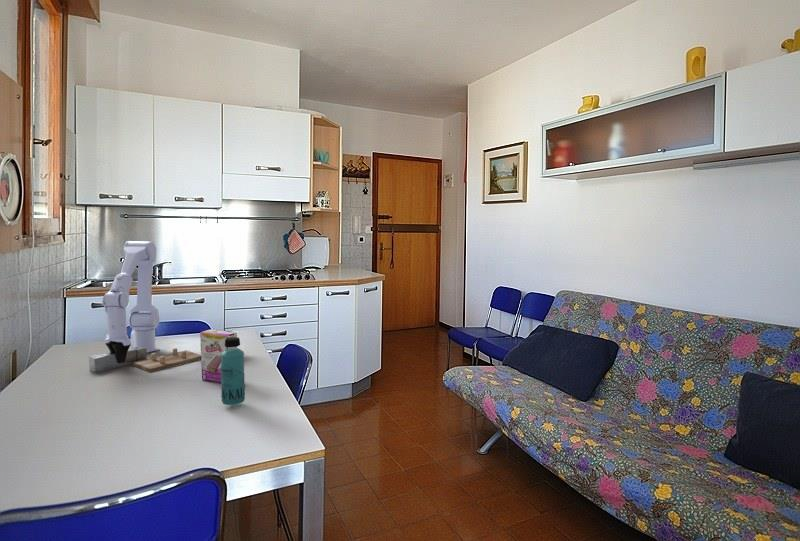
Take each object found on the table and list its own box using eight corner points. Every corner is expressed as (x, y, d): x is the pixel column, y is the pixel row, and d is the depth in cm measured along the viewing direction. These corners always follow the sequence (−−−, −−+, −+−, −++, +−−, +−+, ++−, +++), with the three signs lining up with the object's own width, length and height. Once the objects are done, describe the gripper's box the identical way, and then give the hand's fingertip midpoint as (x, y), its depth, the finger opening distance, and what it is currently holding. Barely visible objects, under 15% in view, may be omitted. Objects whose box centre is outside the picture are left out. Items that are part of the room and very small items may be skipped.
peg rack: (133, 365, 168) (132, 355, 168) (186, 353, 184) (185, 344, 184) (149, 372, 161) (149, 362, 161) (203, 358, 177) (202, 349, 177)
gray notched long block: (95, 372, 160) (94, 358, 159) (89, 370, 162) (88, 356, 162) (146, 360, 174) (146, 347, 173) (141, 358, 176) (140, 345, 176)
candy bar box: (200, 380, 154) (199, 332, 152) (211, 376, 158) (210, 328, 157) (228, 385, 150) (227, 335, 148) (238, 380, 155) (237, 331, 153)
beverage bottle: (225, 401, 136) (223, 335, 134) (248, 401, 137) (246, 335, 135) (218, 410, 130) (216, 341, 128) (242, 410, 130) (241, 340, 128)
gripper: (96, 323, 167) (98, 360, 169) (114, 329, 159) (116, 368, 160) (117, 320, 173) (118, 356, 174) (135, 326, 165) (137, 363, 166)
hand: (119, 361), depth 168 cm, fingers closed on gray notched long block, 3 cm apart
